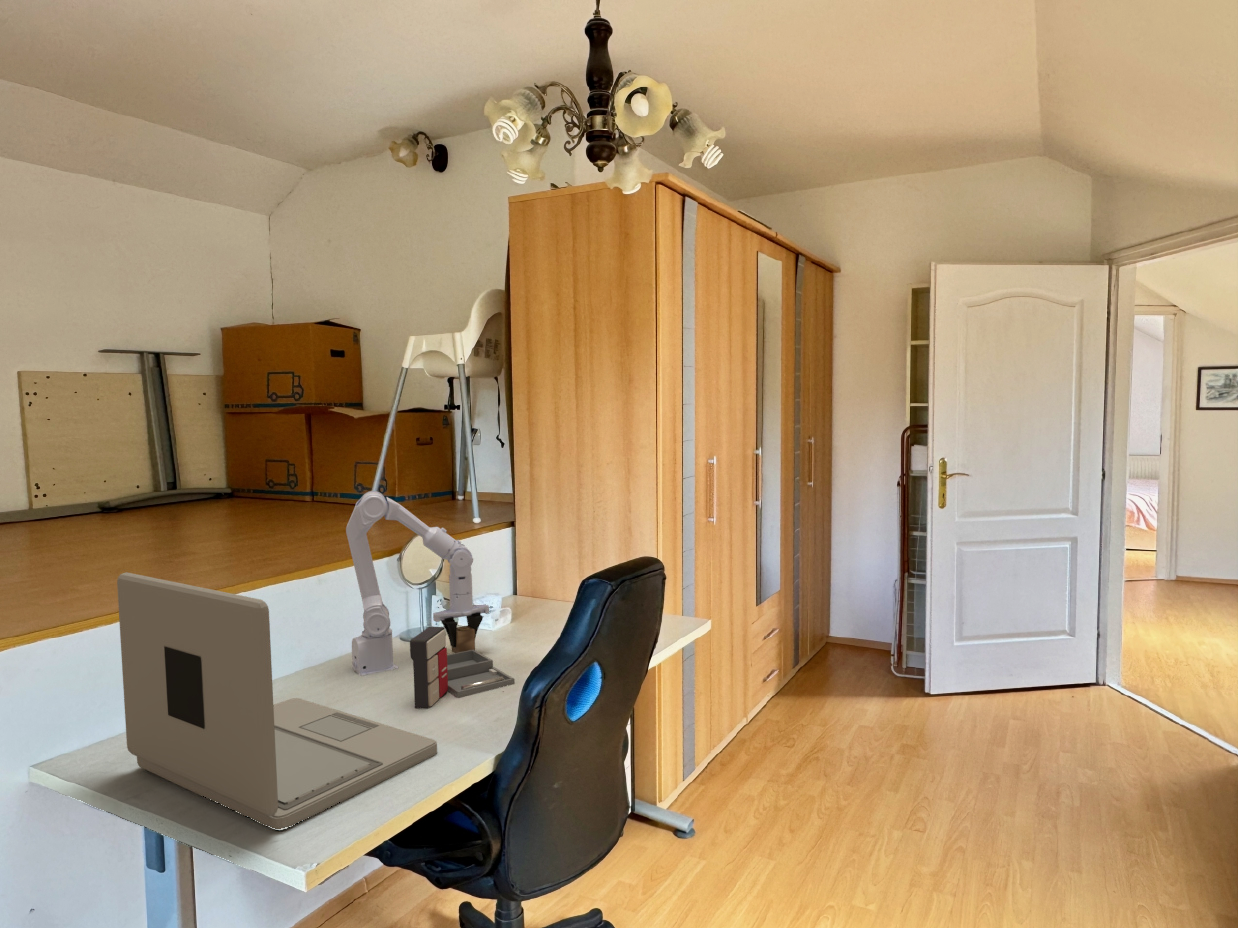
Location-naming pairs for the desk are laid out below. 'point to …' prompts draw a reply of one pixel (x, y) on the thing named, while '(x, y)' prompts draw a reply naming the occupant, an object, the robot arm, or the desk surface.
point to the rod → (482, 683)
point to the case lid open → (456, 684)
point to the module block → (464, 639)
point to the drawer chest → (429, 666)
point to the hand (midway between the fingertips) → (462, 644)
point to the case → (467, 664)
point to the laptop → (238, 709)
